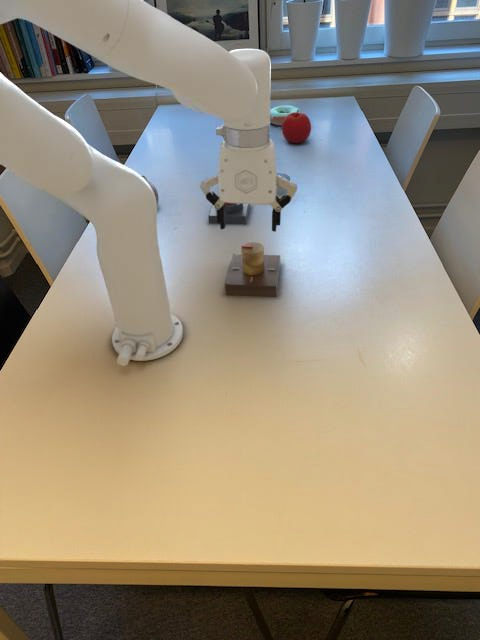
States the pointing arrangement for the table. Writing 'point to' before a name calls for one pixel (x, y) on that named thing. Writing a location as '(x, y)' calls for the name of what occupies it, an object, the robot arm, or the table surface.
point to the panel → (253, 278)
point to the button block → (232, 214)
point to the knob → (253, 258)
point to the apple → (296, 127)
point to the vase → (153, 189)
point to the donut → (281, 114)
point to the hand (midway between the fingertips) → (248, 227)
